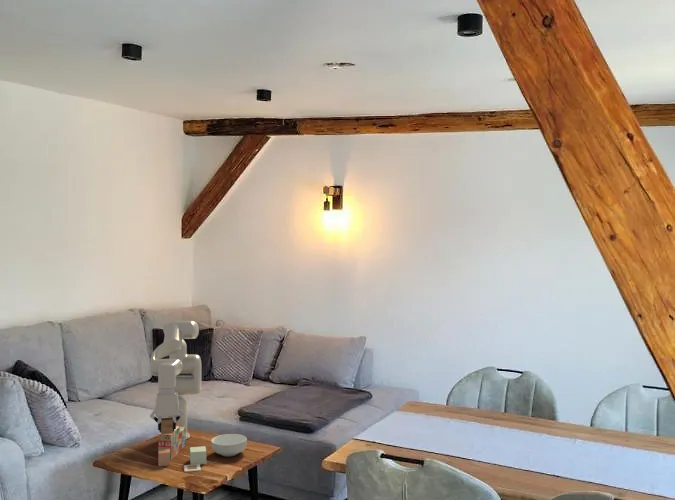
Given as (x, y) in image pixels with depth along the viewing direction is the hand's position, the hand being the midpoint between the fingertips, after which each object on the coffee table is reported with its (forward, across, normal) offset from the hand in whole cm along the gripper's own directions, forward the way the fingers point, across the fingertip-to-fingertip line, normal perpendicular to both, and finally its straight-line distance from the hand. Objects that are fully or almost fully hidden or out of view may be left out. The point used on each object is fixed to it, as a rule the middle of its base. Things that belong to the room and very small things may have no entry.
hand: (166, 430), depth 292 cm
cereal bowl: (+18, -29, -14) cm, 36 cm away
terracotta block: (+17, +1, -7) cm, 18 cm away
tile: (+17, -11, +2) cm, 20 cm away
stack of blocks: (+18, -3, -22) cm, 28 cm away
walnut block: (+1, 0, 0) cm, 1 cm away
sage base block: (+17, -14, -6) cm, 23 cm away
